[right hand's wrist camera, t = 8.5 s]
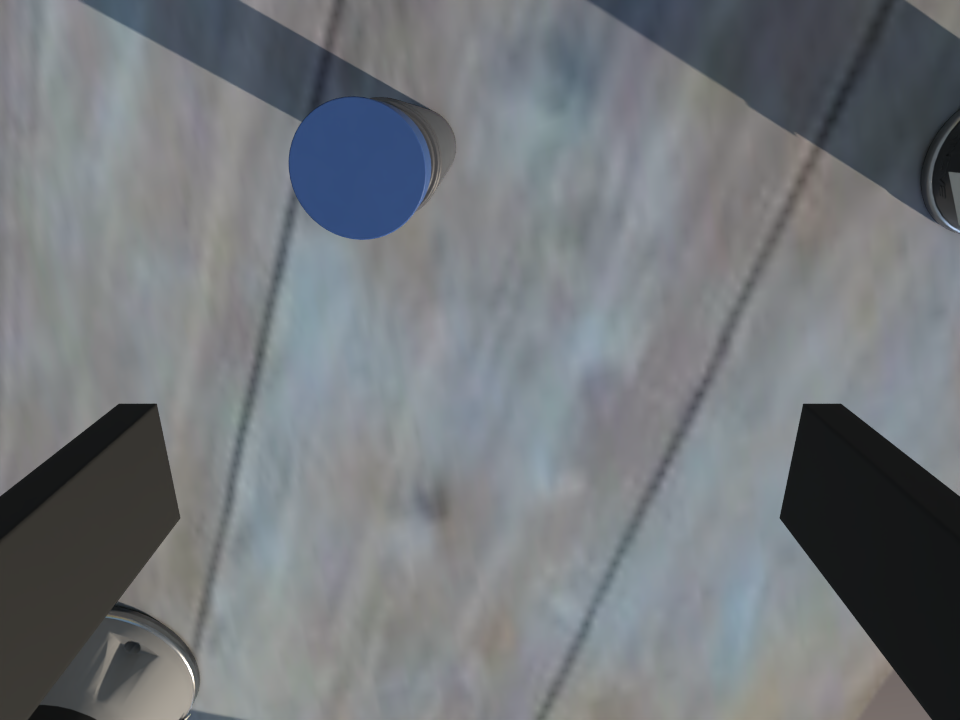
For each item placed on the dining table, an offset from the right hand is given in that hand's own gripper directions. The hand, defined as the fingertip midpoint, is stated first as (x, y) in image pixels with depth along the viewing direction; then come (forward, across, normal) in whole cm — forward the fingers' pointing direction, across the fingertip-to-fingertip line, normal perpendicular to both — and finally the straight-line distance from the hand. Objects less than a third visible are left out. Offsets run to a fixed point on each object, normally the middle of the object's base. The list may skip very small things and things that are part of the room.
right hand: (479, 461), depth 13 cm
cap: (+9, -4, +5) cm, 11 cm away
